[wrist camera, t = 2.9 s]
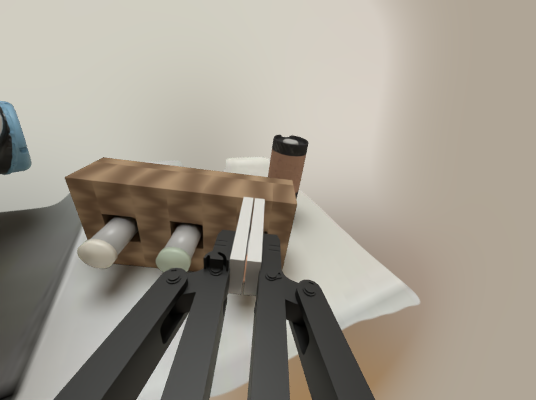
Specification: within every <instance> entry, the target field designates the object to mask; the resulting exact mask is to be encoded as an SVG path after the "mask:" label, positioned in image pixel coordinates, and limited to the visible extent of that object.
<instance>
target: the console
mask: <svg viewBox="0 0 536 400" xmlns="http://www.w3.org/2000/svg"><path fill="white" fill-rule="evenodd" d="M65 179H66V183H67V185H68V188H69V191H70V193H71V196H72V199H73V202H74V204H75V207H76V210H77V212H78V215H79V218H80V221H81V223H82V226H83V229H84V231H85V234H86V237H87V240H89V239H91V238H92V237H93V236H94V235H95V234H96V233H97V232H99V231H100V230H101V229H102V228H103V227H104V226H105V225H106V224H107V223H108V222H109V221H110V220H111V219H113V218H114V217H115V216H116V215H118V216H128V217H132V218H133V219H134V220H135V221H136V222H137V226H138V232H137V233H136V234H135V235H134V236H133V238H132V239H131V240H130V241H129V242H128V244H127V245H126V246H125V247H124V248H123V250H122V251H121V252H120V253H119V254H118V256H117V259H116V260H115V262H114V263H113V264H122V265H133V266H143V267H153V268H158V267H157V265H156V258H157V256H158V254H159V253H160V251H161V250H162V249H164V248H165V246H166V244H167V243H168V241H169V239H170V238H171V236H172V234H173V233H174V231H175V229H176V228H177V226H178V225H179V224H180V223H182V222H183V223H192V224H196V225H198V226H199V227H200V229H201V231H202V235H201V238H200V240H199V242H198V245H197V247H196V249H195V252H194V254H193V256H192V259H191V265H190V267H189V269H188V271H194V272H196V271H199V270H201V269H203V268H204V263H203V258H204V256H205V255H206V254H207V253H208V252H211V251H212V250H213V247H214V244H215V241H216V238H217V235H218V234H219V233H220V232H221V231H222V230H231V231H236V229H237V225H238V220H239V216H240V211H241V207H242V202H243V198H244V197H250V198H253V207H252V217H251V225H252V218H253V210H254V202H255V198H259V199H265V204H264V223H263V233H264V234H273V235H277V236H278V238H279V239H280V248H281V267H282V269H283V264H284V260H285V256H286V251H287V247H288V242H289V238H290V233H291V229H292V224H293V220H294V215H295V211H296V207H297V201H296V196H295V191H294V186H293V181H292V180H286V179H278V178H269V177H261V176H253V175H244V174H236V173H228V172H219V171H211V170H203V169H195V168H186V167H178V166H170V165H162V164H153V163H145V162H137V161H128V160H120V159H112V158H104V157H103V158H101V159H99V160H97V161H96V162H93V163H92V164H90V165H88V166H86V167H84V168H82V169H80V170H78V171H76V172H74V173H72V174H70V175H68V176H66V177H65ZM250 230H251V226H250Z"/></svg>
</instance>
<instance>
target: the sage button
mask: <svg viewBox="0 0 536 400" xmlns="http://www.w3.org/2000/svg"><path fill="white" fill-rule="evenodd" d="M201 235H202V231H201V229H200V227H199V226H198V225H196V224H192V223H183V222H182V223H180V224H179V225H178V226H177V228H176V229H175V231H174V233H173V234H172V236H171V238H170V239H169V241H168V243H167V244H166V246H165V248H164V249H162V250H161V251H160V253H159V254H158V256H157V258H156V265H157V267H158V268H159V269H160V270H161V271H162V272H165V271H167V270H169V269H171V268H182V269H184V270H185V271H186V272H187V271H188V269H189V267H190V265H191V259H192V256H193V254H194V252H195V249H196V247H197V245H198V242H199V240H200V238H201Z"/></svg>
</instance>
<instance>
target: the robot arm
mask: <svg viewBox="0 0 536 400" xmlns="http://www.w3.org/2000/svg"><path fill="white" fill-rule="evenodd" d="M30 166H31V159H30V155H29V152H28V149H27V145H26V142H25V138H24V135H23V132H22V129H21V126H20V123H19V120H18V117H17V114H16V111H15V109H14V107H13V105H12V104H10V103H8V102H5V101H0V174H3V175H5V174H10V173H12V172H19V171H25V170H27V169H29V168H30ZM264 204H265V199H259V198H255V202H254V210H253V218H252V225H251V217H252V207H253V198H250V197H244V198H243V202H242V207H241V211H240V216H239V220H238V225H237V229H236V231H231V230H222V231H221V232H220V233H219V234H218V235H217V238H216V241H215V244H214V247H213V250H212V251H211V252H208V253H207V254H206V255H205V256H204V258H203V263H204V268H203V269H201V270H199V271H196V272H190V273H187V272H186V271H185V270H184V269H182V268H171V269H169V270H167V271H165V272H164V273H163V274H162V275H161V276H160V277H159V278H158V279H157V281H156V282H155V283H154V284H153V285H152V286H151V287H150V289H149V290H148V291H147V292H146V293H145V294H144V296H143V297H142V298H141V299H140V300H139V301H138V302H137V304H136V305H135V306H134V307H133V308H132V309H131V311H130V312H129V313H128V314H127V315H126V316H125V317H124V319H123V320H122V321H121V322H120V323H119V324H118V326H117V327H116V328H115V329H114V330H113V331H112V333H111V334H110V335H109V336H108V337H107V338H106V339H105V341H104V342H103V343H102V344H101V345H100V346H99V348H98V349H97V350H96V351H95V352H94V353H93V354H92V356H91V357H90V358H89V359H88V360H87V361H86V363H85V364H84V365H83V366H82V367H81V368H80V369H79V371H78V372H77V373H76V374H75V375H74V376H73V378H72V379H71V380H70V381H69V382H68V383H67V384H66V386H65V387H64V388H63V389H62V390H61V391H60V393H59V394H58V395H57V396H56V397H55V398H54V399H53V400H136V399H137V397H138V396H139V394H140V392H141V391H142V389H143V388H144V386H145V384H146V383H147V381H148V379H149V378H150V376H151V374H152V373H153V371H154V369H155V368H156V366H157V364H158V363H159V361H160V360H161V358H162V356H163V355H164V353H165V351H166V350H167V348H168V346H169V345H170V343H171V341H172V340H173V338H174V336H175V335H176V333H177V332H178V330H179V328H180V327H181V325H182V323H183V322H184V320H185V318H186V317H187V315H188V313H189V315H188V318H187V321H186V324H185V327H184V330H183V333H182V336H181V339H180V342H179V345H178V348H177V352H176V355H175V358H174V361H173V364H172V367H171V370H170V373H169V376H168V379H167V382H166V385H165V388H164V391H163V394H162V397H161V400H209V398H210V392H211V387H212V381H213V376H214V370H215V365H216V359H217V354H218V348H219V343H220V337H221V332H222V327H223V321H224V316H225V310H226V305H227V295H228V293H231V294H241V292H242V285H243V278H244V270H245V263H246V255H247V248H248V241H249V233H250V226H251V233H250V241H249V249H248V256H247V265H246V274H245V283H244V293H243V295H253V296H256V302H255V308H254V324H253V337H252V349H251V361H250V374H249V387H248V398H247V400H290V393H289V372H288V352H287V331H286V319H287V320H289V324H290V327H291V331H292V334H293V337H294V341H295V344H296V347H297V351H298V354H299V357H300V360H301V364H302V367H303V370H304V374H305V377H306V381H307V384H308V387H309V391H310V394H311V397H312V400H375V398H374V396H373V394H372V393H371V390H370V388H369V386H368V384H367V382H366V380H365V378H364V376H363V374H362V372H361V370H360V368H359V366H358V363H357V361H356V359H355V357H354V355H353V354H352V351H351V349H350V347H349V345H348V343H347V341H346V339H345V337H344V335H343V333H342V331H341V329H340V327H339V324H338V322H337V320H336V318H335V316H334V314H333V312H332V310H331V308H330V306H329V304H328V302H327V300H326V298H325V296H324V294H323V292H322V290H321V288H320V287H319V285H318V284H317V283H315V282H313V281H311V280H302V281H300V282H299V283H297V282H294V281H292V280H290V279H288V278H287V277H286V276H285V275H284V274H283V272H282V267H281V248H280V239H279V238H278V236H277V235H273V234H264V233H263V223H264Z"/></svg>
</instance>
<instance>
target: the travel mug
mask: <svg viewBox="0 0 536 400" xmlns="http://www.w3.org/2000/svg"><path fill="white" fill-rule="evenodd" d="M307 147H308V141H307V140H305V139H303V138H301V137H297V136H290V137H282V136H281V135H276V136H275V137H274V139H273V146H272V153H271V160H270V167H269V173H268V177H269V178H278V179H286V180H292V181H293V186H294V191H295V196H296V198H297V194H298V190H299V185H300V181H301V176H302V171H303V167H304V162H305V157H306V152H307Z"/></svg>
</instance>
